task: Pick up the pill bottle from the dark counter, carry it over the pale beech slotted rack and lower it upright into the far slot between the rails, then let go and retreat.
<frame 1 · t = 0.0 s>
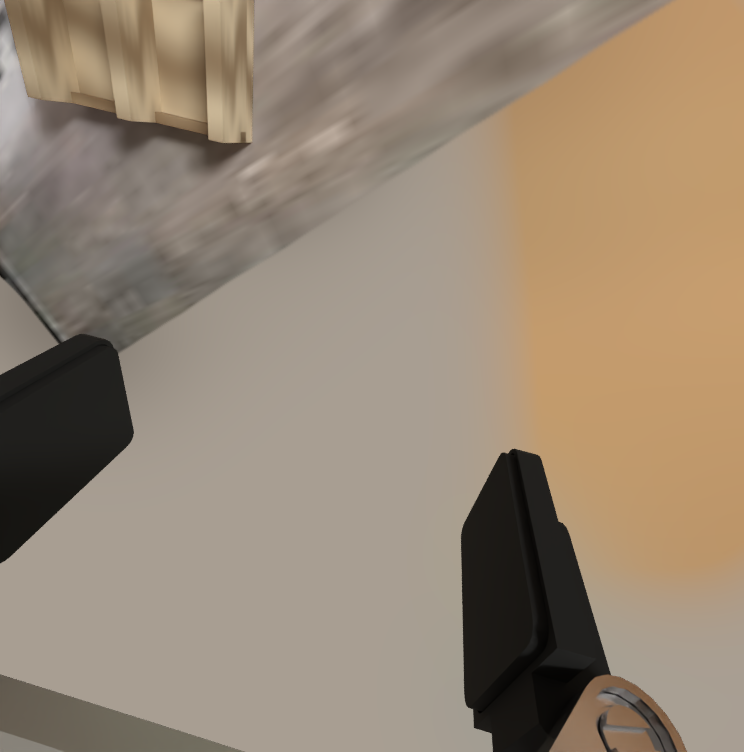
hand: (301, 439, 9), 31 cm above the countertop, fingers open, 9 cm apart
rack: (158, 51, 32), on the countertop
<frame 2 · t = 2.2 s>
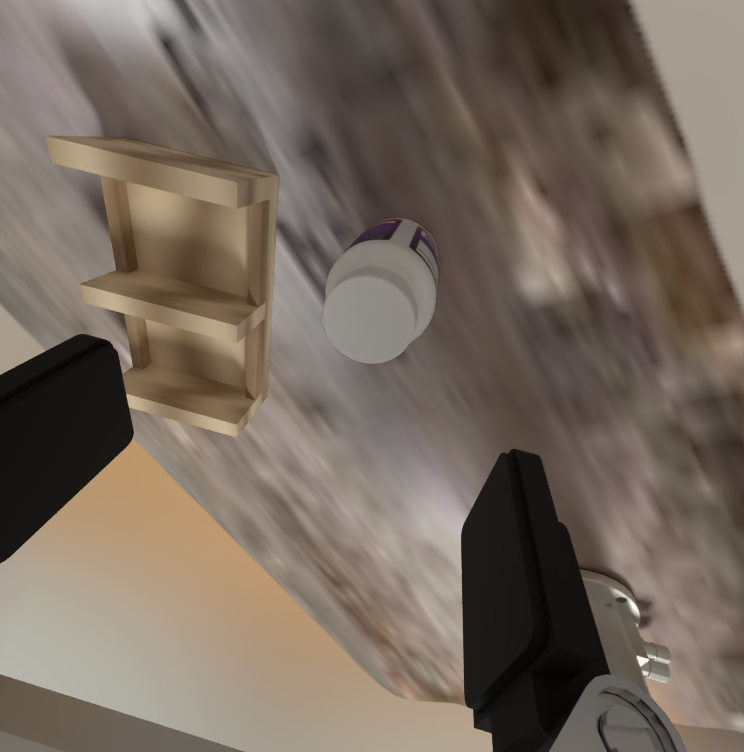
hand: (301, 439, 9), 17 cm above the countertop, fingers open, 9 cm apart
pill bottle: (397, 261, 24), on the countertop
rack: (205, 286, 27), on the countertop
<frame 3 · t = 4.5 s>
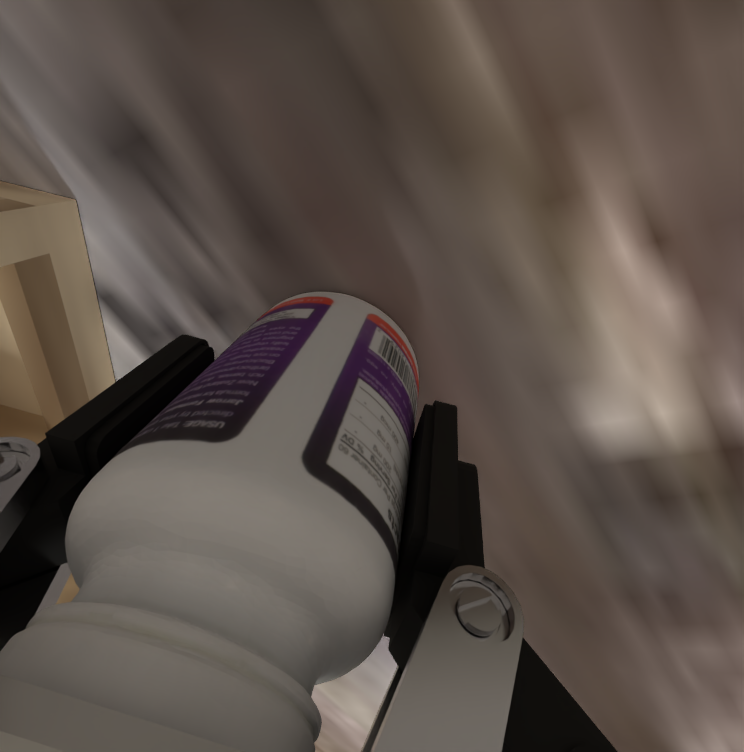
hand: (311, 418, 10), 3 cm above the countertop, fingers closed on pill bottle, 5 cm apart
pill bottle: (337, 366, 12), on the countertop, touching gripper
rack: (8, 391, 15), on the countertop
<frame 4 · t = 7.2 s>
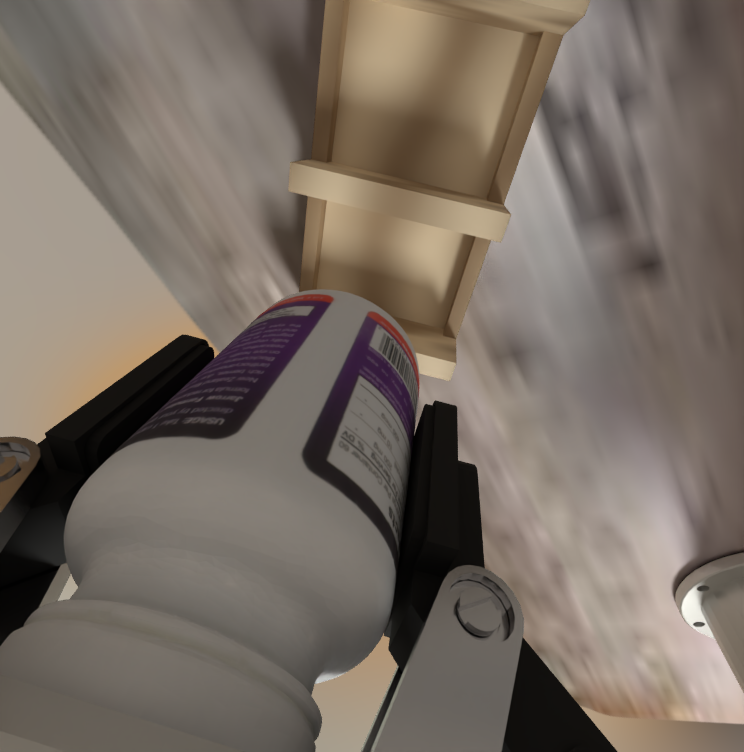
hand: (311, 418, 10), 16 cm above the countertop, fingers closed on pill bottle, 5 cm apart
pill bottle: (337, 365, 12), point 14 cm above the countertop, touching gripper
rack: (407, 189, 22), on the countertop
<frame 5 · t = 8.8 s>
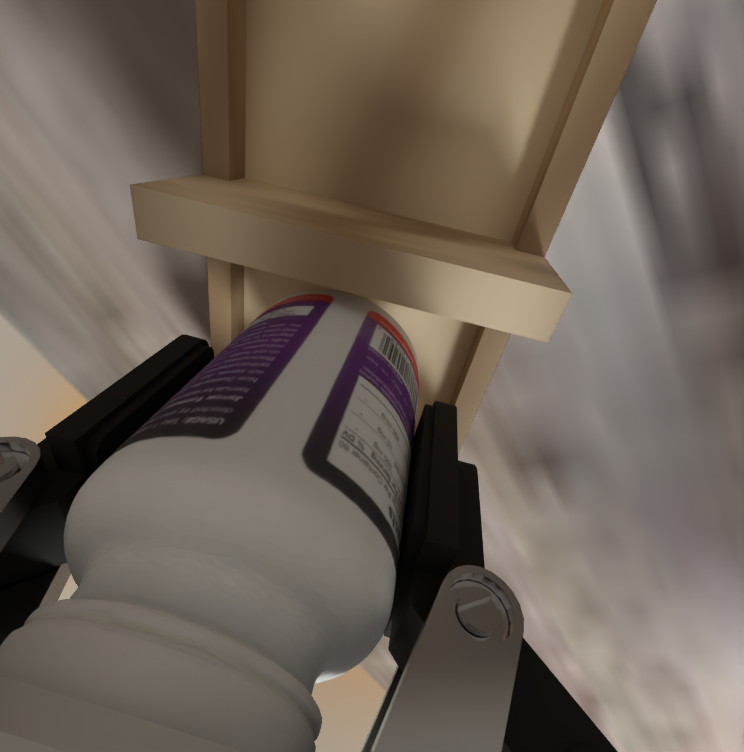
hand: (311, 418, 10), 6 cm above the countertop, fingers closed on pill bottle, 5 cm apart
pill bottle: (337, 364, 12), point 3 cm above the countertop, touching gripper
rack: (378, 222, 13), on the countertop
when the fingers open (5 cm above the countertop, at t = 9.9 s): pill bottle drops 1 cm, resting on rack.
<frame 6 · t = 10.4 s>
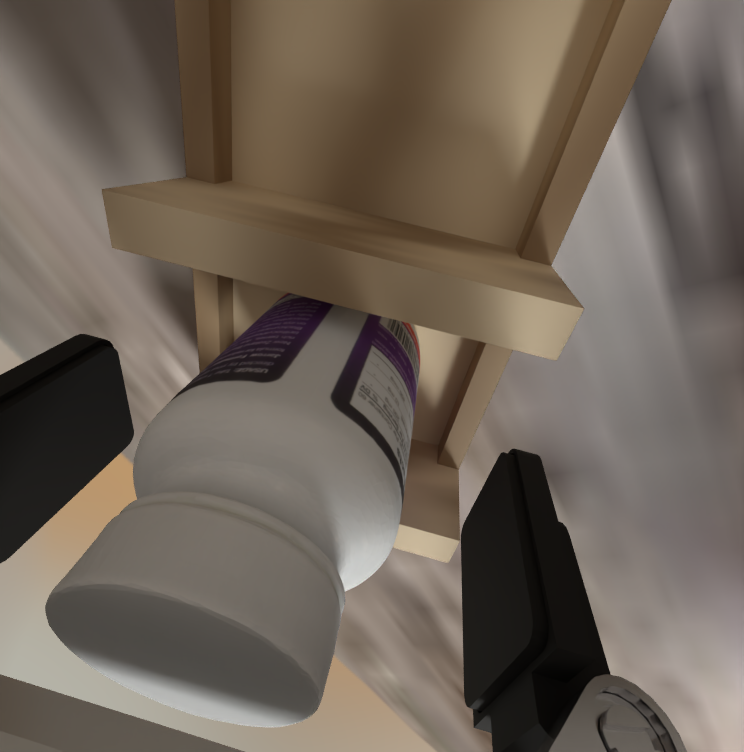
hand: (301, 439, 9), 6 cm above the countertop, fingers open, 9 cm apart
pill bottle: (346, 346, 14), point 1 cm above the countertop, touching rack
rack: (374, 227, 12), on the countertop
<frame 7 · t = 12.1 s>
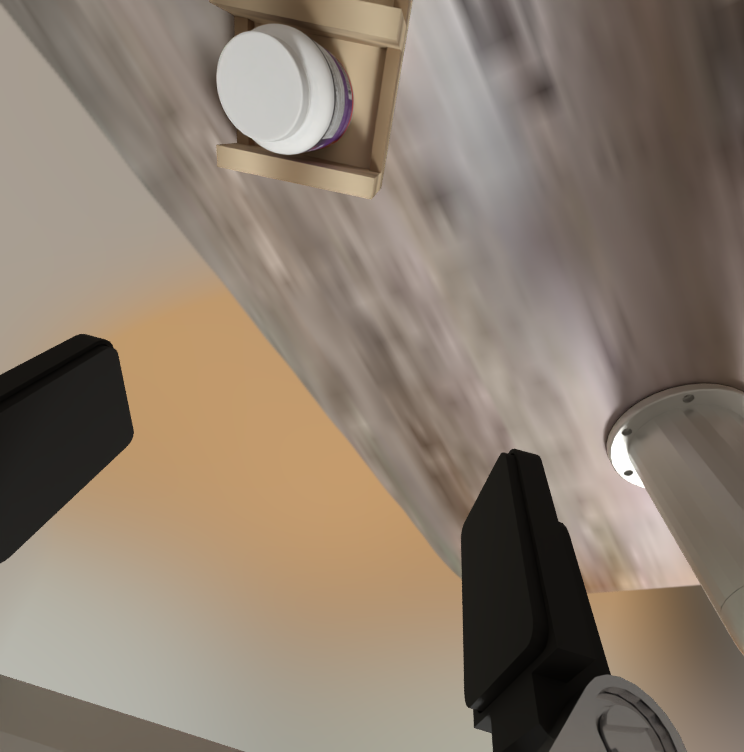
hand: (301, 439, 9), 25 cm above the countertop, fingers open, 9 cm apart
pill bottle: (316, 101, 25), point 1 cm above the countertop, touching rack
rack: (327, 26, 24), on the countertop
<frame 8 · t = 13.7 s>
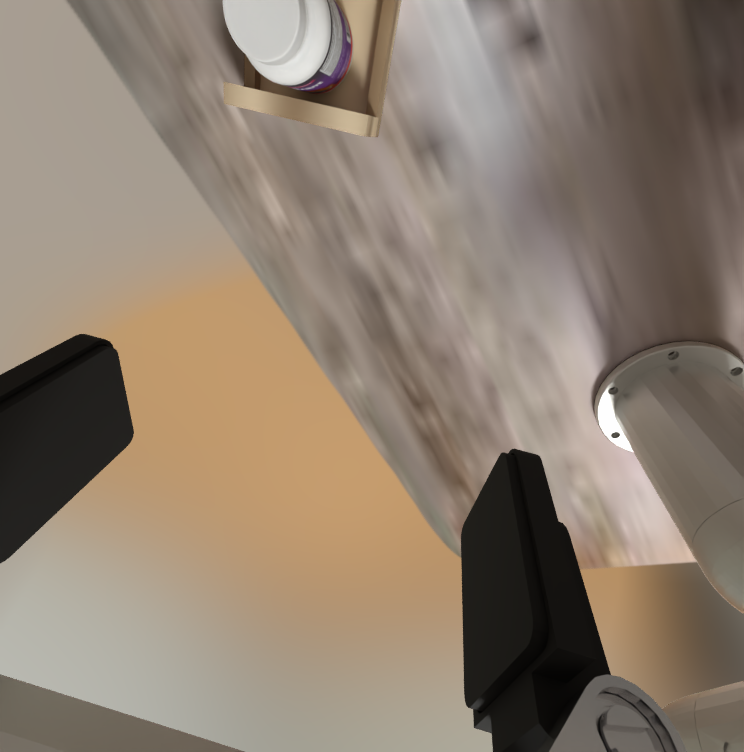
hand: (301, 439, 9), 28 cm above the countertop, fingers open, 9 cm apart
pill bottle: (318, 48, 27), point 1 cm above the countertop, touching rack
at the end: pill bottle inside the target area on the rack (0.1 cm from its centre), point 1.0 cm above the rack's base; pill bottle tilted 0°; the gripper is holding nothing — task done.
